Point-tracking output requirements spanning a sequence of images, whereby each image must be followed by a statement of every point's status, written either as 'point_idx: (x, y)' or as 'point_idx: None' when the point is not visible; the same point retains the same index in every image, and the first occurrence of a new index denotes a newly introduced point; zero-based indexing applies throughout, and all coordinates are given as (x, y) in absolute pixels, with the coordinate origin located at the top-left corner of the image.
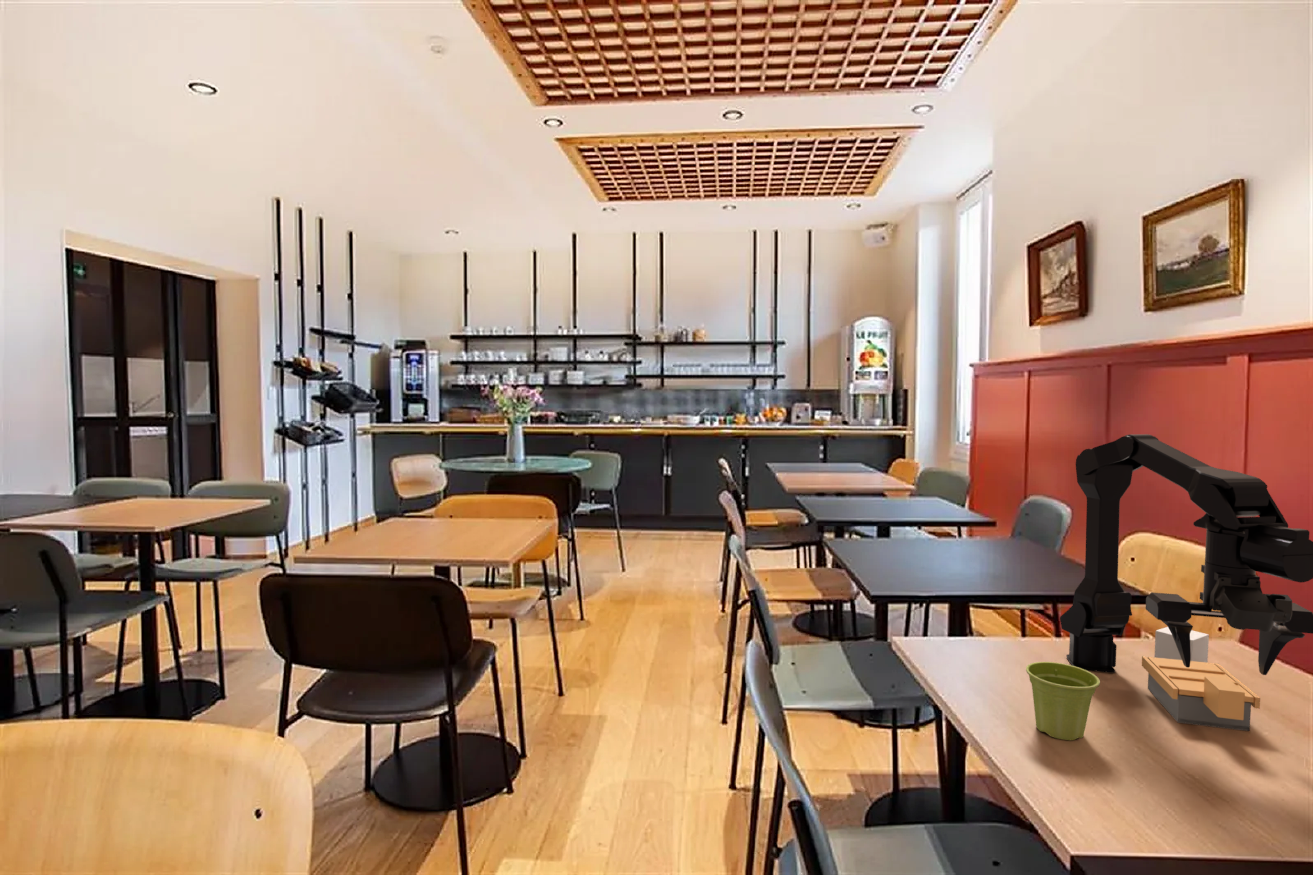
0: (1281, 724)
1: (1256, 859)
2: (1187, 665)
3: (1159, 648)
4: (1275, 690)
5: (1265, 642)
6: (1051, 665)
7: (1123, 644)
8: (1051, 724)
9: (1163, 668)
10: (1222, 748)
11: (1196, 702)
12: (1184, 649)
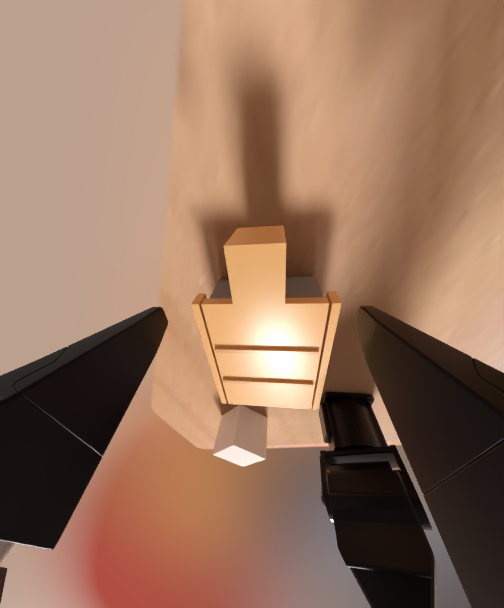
0: (180, 311)
1: None
2: (371, 308)
3: (263, 433)
4: (174, 384)
5: (82, 411)
6: None
7: (281, 440)
8: None
9: (308, 380)
10: (282, 188)
11: (292, 294)
12: (443, 345)
